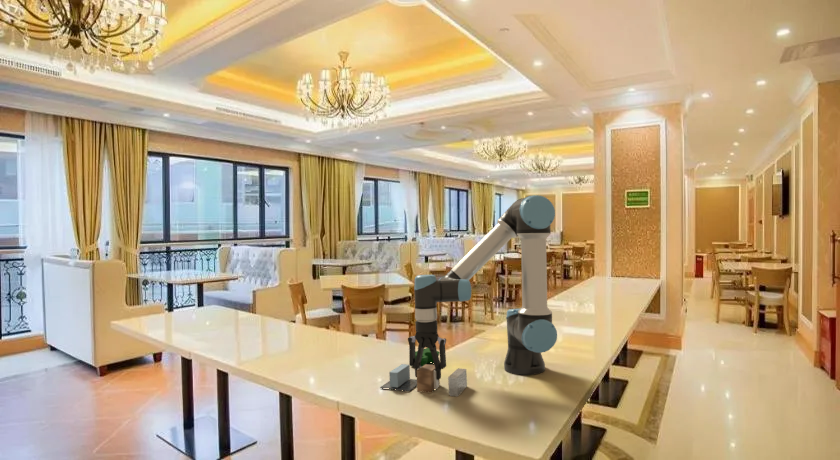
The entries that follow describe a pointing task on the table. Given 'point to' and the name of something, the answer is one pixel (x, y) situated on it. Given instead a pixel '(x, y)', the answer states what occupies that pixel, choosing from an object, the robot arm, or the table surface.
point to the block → (426, 378)
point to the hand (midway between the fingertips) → (428, 387)
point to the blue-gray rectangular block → (399, 375)
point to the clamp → (426, 356)
